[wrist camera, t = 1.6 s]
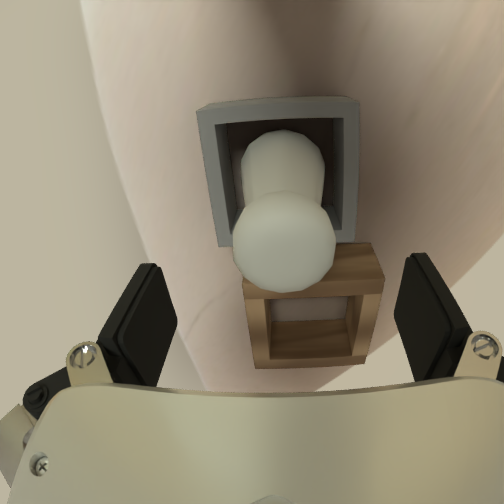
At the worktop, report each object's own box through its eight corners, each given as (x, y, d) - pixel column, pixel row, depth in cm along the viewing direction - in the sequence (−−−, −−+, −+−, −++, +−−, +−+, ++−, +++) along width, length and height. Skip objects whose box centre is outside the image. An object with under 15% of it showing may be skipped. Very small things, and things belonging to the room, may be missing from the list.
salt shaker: (314, 118, 21) (356, 180, 10) (325, 189, 24) (360, 305, 13) (235, 132, 22) (190, 207, 11) (252, 200, 25) (231, 321, 14)
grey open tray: (209, 103, 20) (196, 111, 17) (345, 96, 19) (359, 102, 16) (226, 221, 26) (218, 247, 23) (344, 216, 25) (354, 241, 21)
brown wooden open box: (247, 247, 27) (241, 284, 23) (370, 243, 26) (385, 278, 22) (258, 331, 33) (255, 368, 29) (356, 327, 32) (364, 363, 28)
